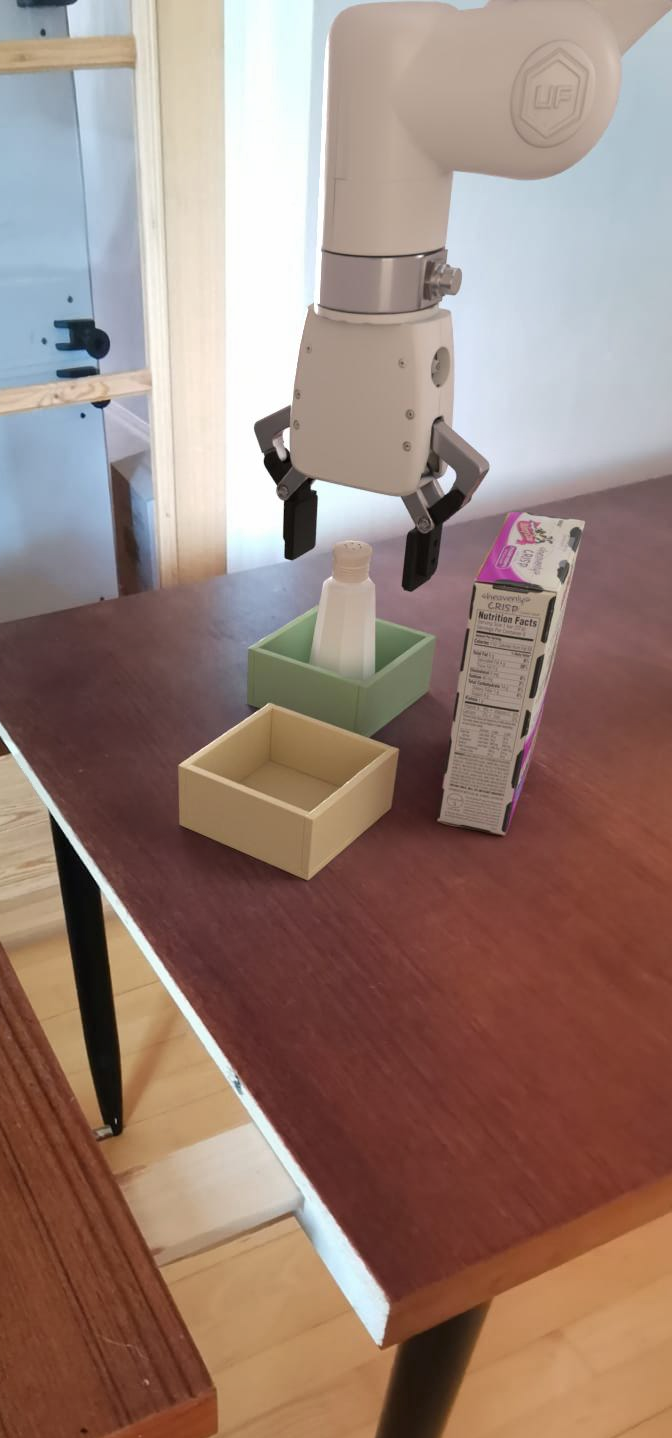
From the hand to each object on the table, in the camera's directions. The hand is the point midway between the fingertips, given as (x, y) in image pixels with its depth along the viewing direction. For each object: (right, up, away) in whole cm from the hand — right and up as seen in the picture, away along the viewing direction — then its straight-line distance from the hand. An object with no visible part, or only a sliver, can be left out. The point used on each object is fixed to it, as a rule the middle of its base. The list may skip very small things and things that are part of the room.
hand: (356, 568), depth 77 cm
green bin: (0, -7, +7) cm, 10 cm away
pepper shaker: (0, -7, +7) cm, 10 cm away
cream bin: (-5, -18, -5) cm, 20 cm away
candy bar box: (+8, -16, -2) cm, 19 cm away
